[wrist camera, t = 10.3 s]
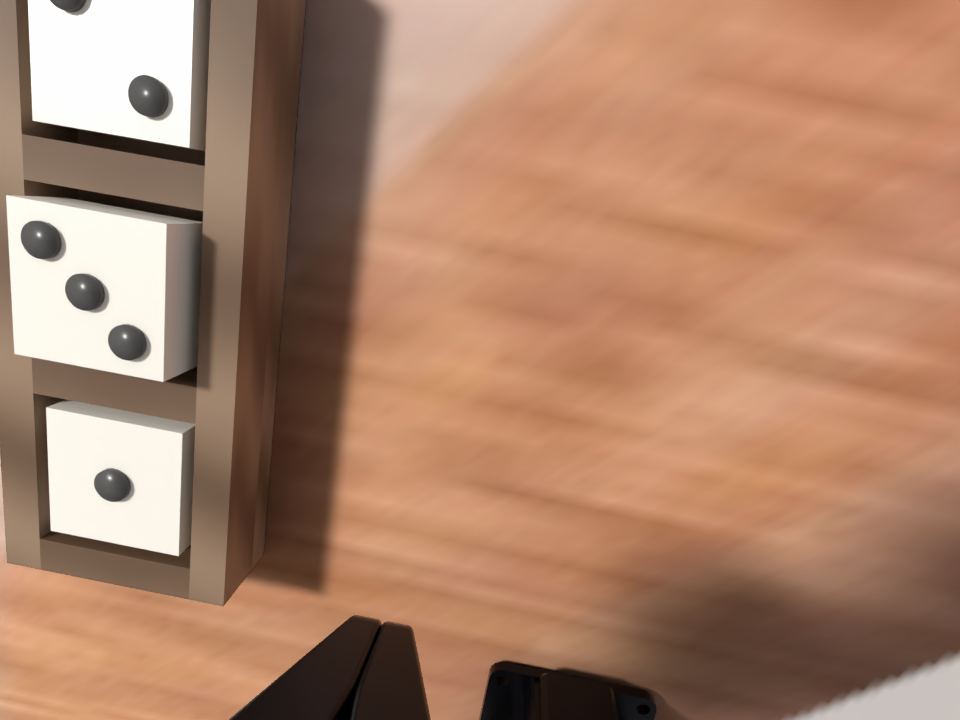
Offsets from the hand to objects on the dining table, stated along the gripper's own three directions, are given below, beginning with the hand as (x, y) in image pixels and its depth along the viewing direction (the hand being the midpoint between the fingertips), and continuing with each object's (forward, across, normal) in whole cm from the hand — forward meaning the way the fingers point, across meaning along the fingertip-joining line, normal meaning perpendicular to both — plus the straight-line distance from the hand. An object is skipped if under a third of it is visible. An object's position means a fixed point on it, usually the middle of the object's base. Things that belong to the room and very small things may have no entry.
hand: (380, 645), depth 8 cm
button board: (+12, +10, -2) cm, 16 cm away
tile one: (+11, +11, +4) cm, 16 cm away
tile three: (+10, +11, -2) cm, 15 cm away
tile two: (+11, +10, -8) cm, 17 cm away
